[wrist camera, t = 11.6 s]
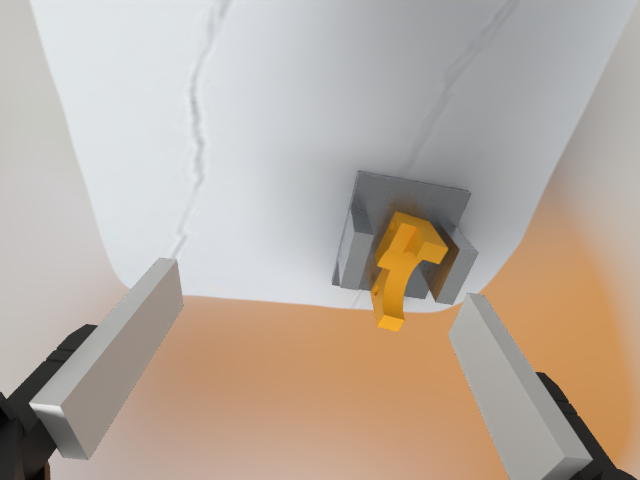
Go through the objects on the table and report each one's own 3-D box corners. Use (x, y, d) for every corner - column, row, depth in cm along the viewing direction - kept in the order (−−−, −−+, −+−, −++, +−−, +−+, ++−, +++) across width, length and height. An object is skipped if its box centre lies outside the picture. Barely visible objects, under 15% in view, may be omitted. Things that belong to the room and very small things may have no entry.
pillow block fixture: (358, 170, 34) (364, 191, 28) (467, 190, 35) (497, 215, 29) (331, 280, 42) (332, 316, 35) (422, 294, 42) (439, 331, 36)
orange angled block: (395, 210, 35) (409, 236, 30) (429, 221, 36) (448, 248, 30) (358, 288, 41) (363, 322, 35) (387, 296, 41) (397, 331, 36)
